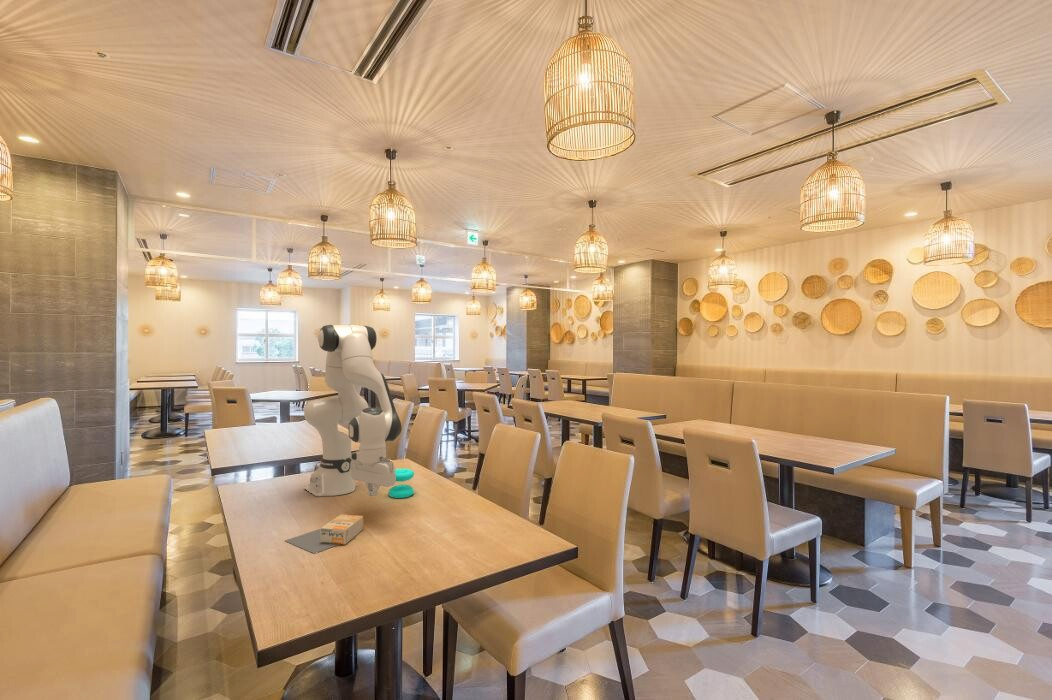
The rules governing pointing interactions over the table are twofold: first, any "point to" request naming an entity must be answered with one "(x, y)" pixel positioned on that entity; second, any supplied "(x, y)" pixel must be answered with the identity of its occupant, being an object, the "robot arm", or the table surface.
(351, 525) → the supplement box
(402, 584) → the table surface
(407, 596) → the table surface
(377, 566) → the table surface
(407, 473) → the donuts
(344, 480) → the robot arm
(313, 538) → the felt mat
